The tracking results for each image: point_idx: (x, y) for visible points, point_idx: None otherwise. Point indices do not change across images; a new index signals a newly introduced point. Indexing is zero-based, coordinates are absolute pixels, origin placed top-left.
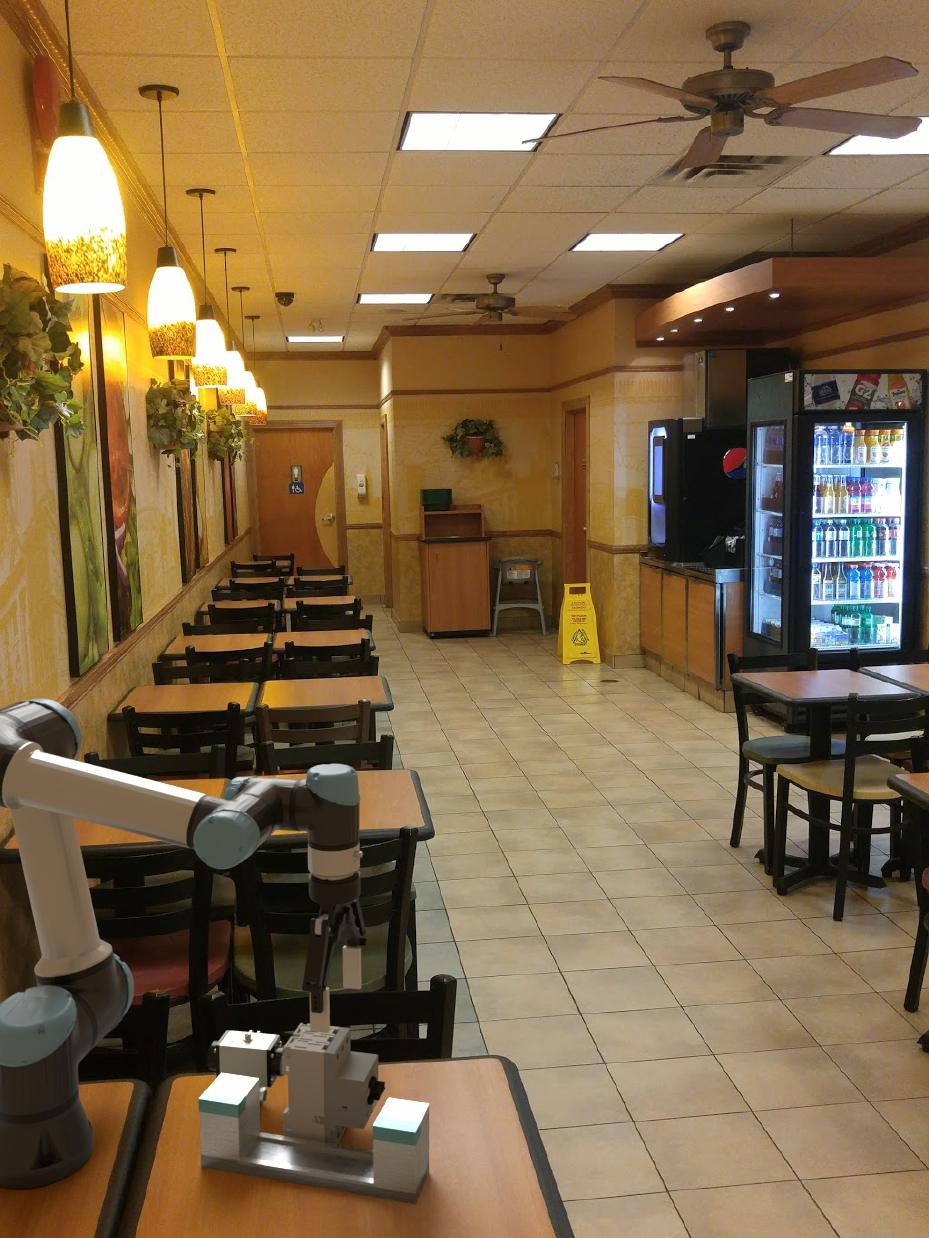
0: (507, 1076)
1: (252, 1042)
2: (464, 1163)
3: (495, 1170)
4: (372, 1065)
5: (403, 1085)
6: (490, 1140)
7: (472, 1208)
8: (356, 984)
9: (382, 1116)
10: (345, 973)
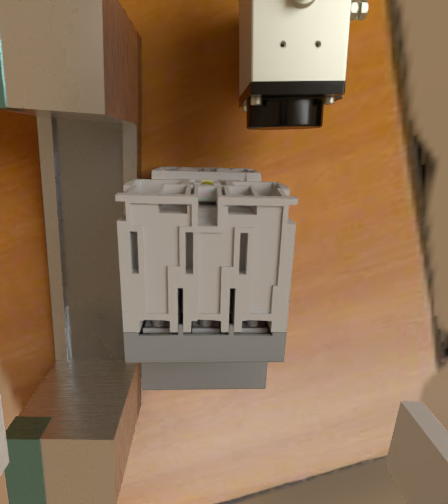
0: None
1: (287, 13)
2: (172, 440)
3: (167, 475)
4: (216, 388)
5: (358, 319)
6: (231, 460)
7: None
8: (398, 472)
9: (40, 447)
10: (441, 472)
